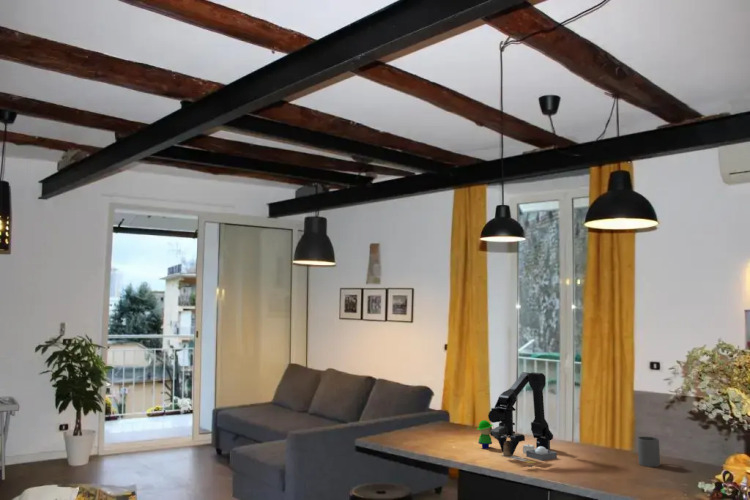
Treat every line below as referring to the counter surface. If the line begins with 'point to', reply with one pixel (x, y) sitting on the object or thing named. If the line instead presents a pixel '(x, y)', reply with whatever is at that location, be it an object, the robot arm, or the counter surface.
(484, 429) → the toy
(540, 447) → the dome
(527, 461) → the board
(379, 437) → the counter surface
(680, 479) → the counter surface
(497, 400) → the robot arm
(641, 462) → the mug
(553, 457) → the base
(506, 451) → the pawn
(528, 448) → the die
